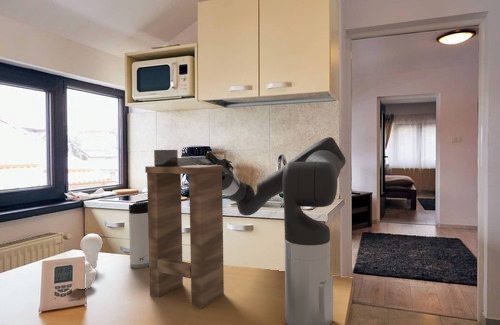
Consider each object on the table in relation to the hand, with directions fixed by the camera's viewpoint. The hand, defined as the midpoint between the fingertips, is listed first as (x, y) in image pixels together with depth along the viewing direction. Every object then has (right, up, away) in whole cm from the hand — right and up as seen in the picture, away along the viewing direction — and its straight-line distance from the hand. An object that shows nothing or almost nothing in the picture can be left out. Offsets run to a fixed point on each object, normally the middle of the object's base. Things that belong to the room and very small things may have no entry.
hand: (194, 154), depth 95 cm
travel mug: (-19, -35, +14) cm, 42 cm away
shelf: (-1, -35, -9) cm, 36 cm away
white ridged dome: (-29, -35, -4) cm, 46 cm away
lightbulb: (-33, -35, +10) cm, 49 cm away
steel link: (-2, -3, -4) cm, 5 cm away
